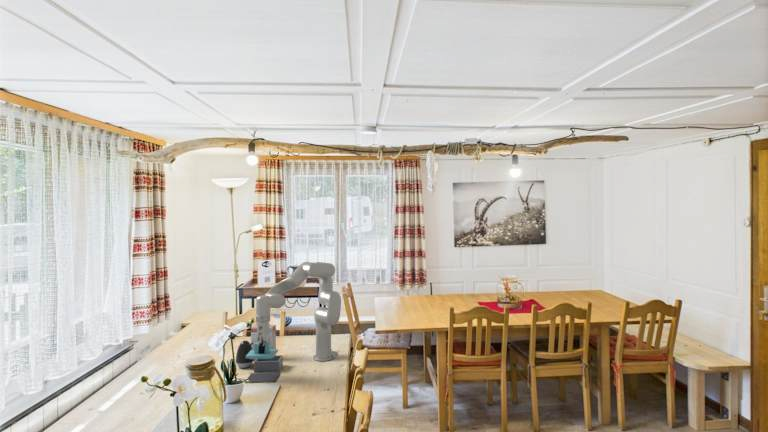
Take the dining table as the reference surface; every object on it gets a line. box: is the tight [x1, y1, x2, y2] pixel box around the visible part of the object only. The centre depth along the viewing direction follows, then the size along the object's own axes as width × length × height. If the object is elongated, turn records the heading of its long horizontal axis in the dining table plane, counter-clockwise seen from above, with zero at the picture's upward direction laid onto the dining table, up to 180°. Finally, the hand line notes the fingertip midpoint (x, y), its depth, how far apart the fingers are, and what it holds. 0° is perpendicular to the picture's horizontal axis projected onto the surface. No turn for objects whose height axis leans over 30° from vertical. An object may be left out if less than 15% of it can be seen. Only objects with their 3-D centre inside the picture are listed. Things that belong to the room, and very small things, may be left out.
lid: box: [246, 342, 279, 359], centre depth 207 cm, size 11×15×7 cm
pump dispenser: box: [235, 339, 254, 369], centre depth 224 cm, size 10×10×15 cm
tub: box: [253, 354, 284, 373], centre depth 220 cm, size 10×14×6 cm
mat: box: [245, 371, 281, 384], centre depth 207 cm, size 12×16×1 cm
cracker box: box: [250, 324, 277, 362], centre depth 235 cm, size 14×6×21 cm, turn 84°
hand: (262, 352), depth 207 cm, fingers closed on lid, 3 cm apart
